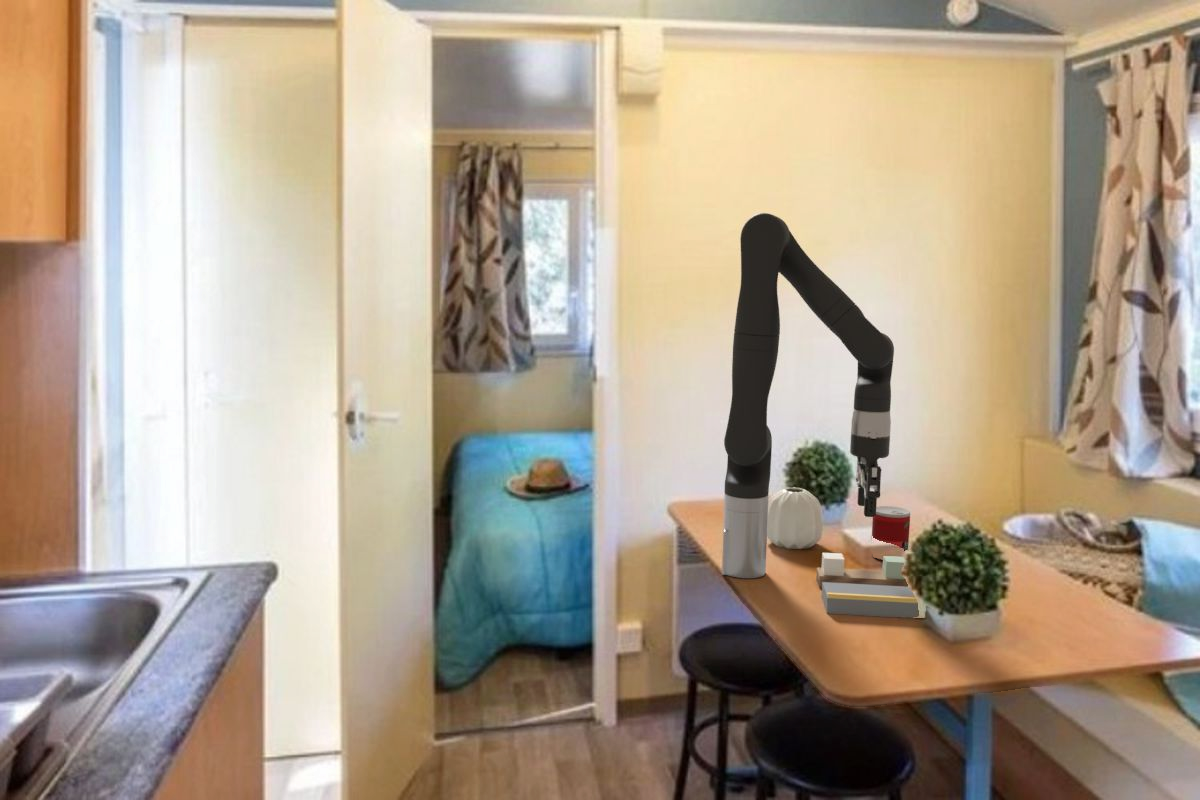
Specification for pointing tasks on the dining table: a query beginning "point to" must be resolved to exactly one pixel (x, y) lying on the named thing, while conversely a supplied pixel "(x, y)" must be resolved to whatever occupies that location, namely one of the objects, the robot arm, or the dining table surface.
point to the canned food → (892, 525)
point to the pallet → (859, 578)
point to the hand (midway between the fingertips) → (866, 510)
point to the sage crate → (893, 567)
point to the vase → (794, 519)
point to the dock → (869, 600)
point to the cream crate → (833, 564)
